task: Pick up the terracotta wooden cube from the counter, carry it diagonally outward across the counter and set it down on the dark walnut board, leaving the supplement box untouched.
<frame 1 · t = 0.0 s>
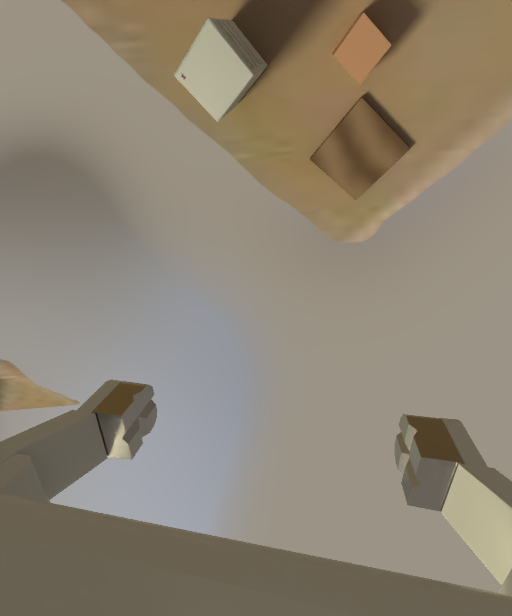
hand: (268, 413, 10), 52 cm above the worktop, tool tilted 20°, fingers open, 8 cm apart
terracotta cube: (358, 48, 42), on the worktop
walnut board: (357, 152, 51), on the worktop
supplement box: (235, 65, 46), on the worktop
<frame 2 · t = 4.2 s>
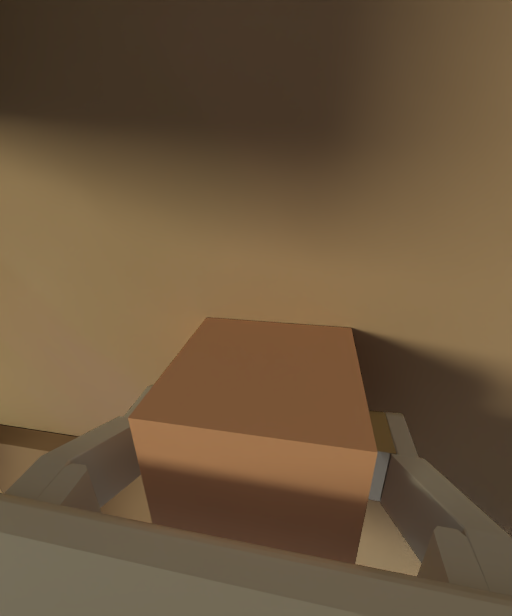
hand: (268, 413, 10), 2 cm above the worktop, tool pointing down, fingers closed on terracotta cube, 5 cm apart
terracotta cube: (274, 382, 12), on the worktop, touching gripper
walnut board: (111, 512, 17), on the worktop
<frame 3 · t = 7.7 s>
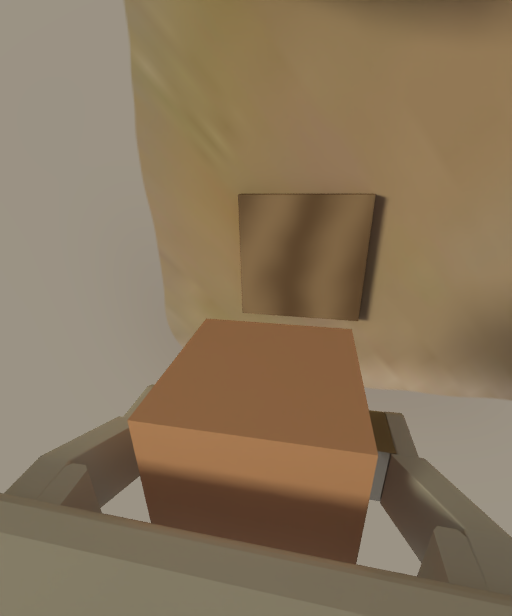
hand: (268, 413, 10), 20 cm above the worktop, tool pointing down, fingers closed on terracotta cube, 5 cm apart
terracotta cube: (274, 383, 11), point 18 cm above the worktop, touching gripper
walnut board: (301, 257, 28), on the worktop
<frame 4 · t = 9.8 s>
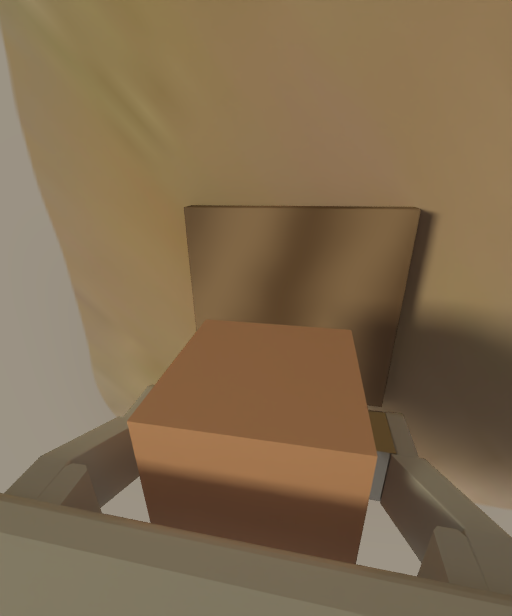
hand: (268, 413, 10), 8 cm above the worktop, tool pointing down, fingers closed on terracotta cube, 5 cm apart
terracotta cube: (274, 384, 11), point 7 cm above the worktop, touching gripper
walnut board: (291, 307, 17), on the worktop
when the fingers open (4 cm above the worktop, at t = 11.5 s): terracotta cube drops 1 cm, resting on walnut board.
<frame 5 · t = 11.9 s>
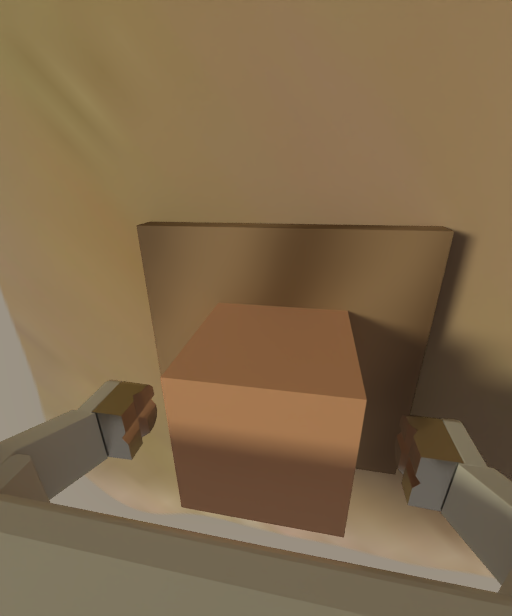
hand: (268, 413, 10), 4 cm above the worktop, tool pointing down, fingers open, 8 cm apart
terracotta cube: (279, 361, 13), point 1 cm above the worktop, touching walnut board
walnut board: (280, 349, 14), on the worktop
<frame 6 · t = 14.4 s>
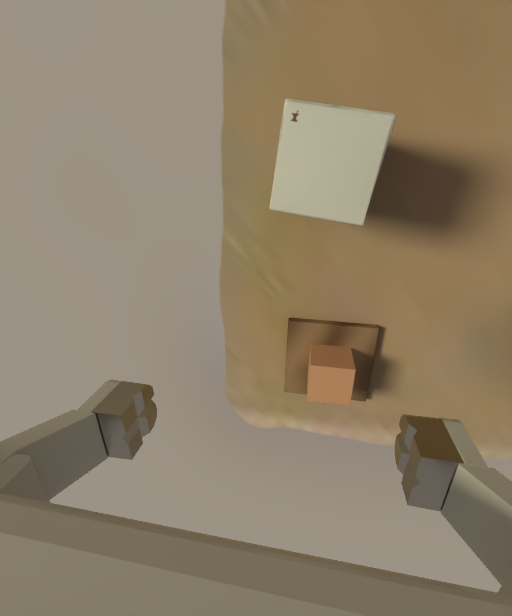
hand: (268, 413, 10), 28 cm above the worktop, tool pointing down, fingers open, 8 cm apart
terracotta cube: (328, 362, 40), point 1 cm above the worktop, touching walnut board
walnut board: (327, 358, 41), on the worktop
supplement box: (321, 170, 33), on the worktop
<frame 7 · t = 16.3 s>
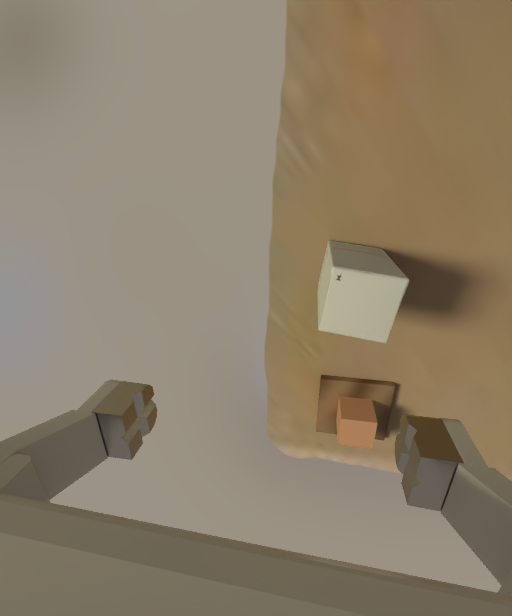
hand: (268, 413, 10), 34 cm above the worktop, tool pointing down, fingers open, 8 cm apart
terracotta cube: (353, 410, 49), point 1 cm above the worktop, touching walnut board
walnut board: (352, 406, 50), on the worktop
supplement box: (348, 269, 42), on the worktop
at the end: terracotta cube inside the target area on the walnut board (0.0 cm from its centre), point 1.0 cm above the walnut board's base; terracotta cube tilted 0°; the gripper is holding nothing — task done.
